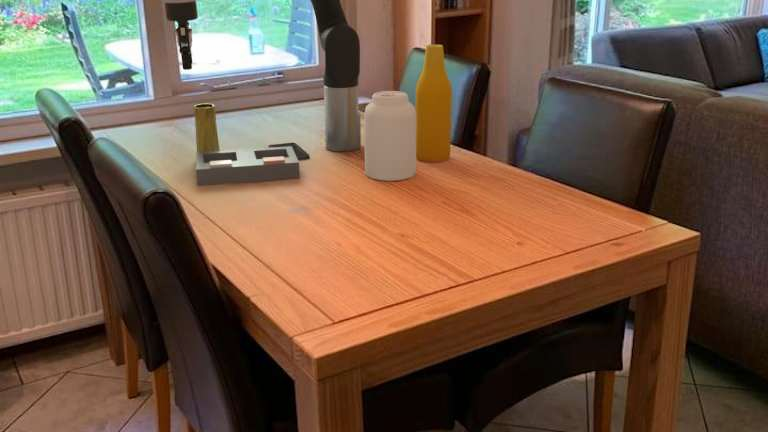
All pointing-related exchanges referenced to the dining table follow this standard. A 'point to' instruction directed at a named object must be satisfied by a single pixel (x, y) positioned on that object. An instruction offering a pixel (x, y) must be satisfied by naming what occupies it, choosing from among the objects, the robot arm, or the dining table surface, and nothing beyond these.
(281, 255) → the dining table surface
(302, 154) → the phone
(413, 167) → the white jar
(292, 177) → the socket block
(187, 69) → the robot arm
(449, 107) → the beer bottle
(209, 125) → the vase
